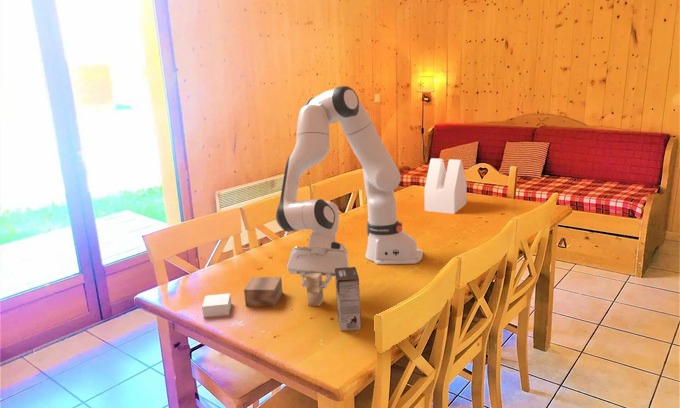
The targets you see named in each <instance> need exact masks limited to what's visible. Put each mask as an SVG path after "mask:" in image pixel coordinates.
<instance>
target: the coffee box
mask: <svg viewBox="0 0 680 408" xmlns="http://www.w3.org/2000/svg"><path fill="white" fill-rule="evenodd" d="M334 277H335V291H336V308H337V320H338V324H339V329H340V331H341V332H342V331H355V330H361V329H362V322H361V320H362V318H361V314H362V313H361V293H360V292H361V291H360V290H361V289H360V277H359V274H358V271H357V268H356V266H351V267H350V266H348V267H343V268H335V276H334Z"/></svg>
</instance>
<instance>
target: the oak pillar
mask: <svg viewBox="0 0 680 408" xmlns="http://www.w3.org/2000/svg"><path fill="white" fill-rule="evenodd" d="M305 280H306V285H307V287H306V294H307V306H311V307H321V305H322V304H323V302H324V288H322V287H321V282H322V281H323V275H322V273H320V272H309V273H308V275H306V277H305Z"/></svg>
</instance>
